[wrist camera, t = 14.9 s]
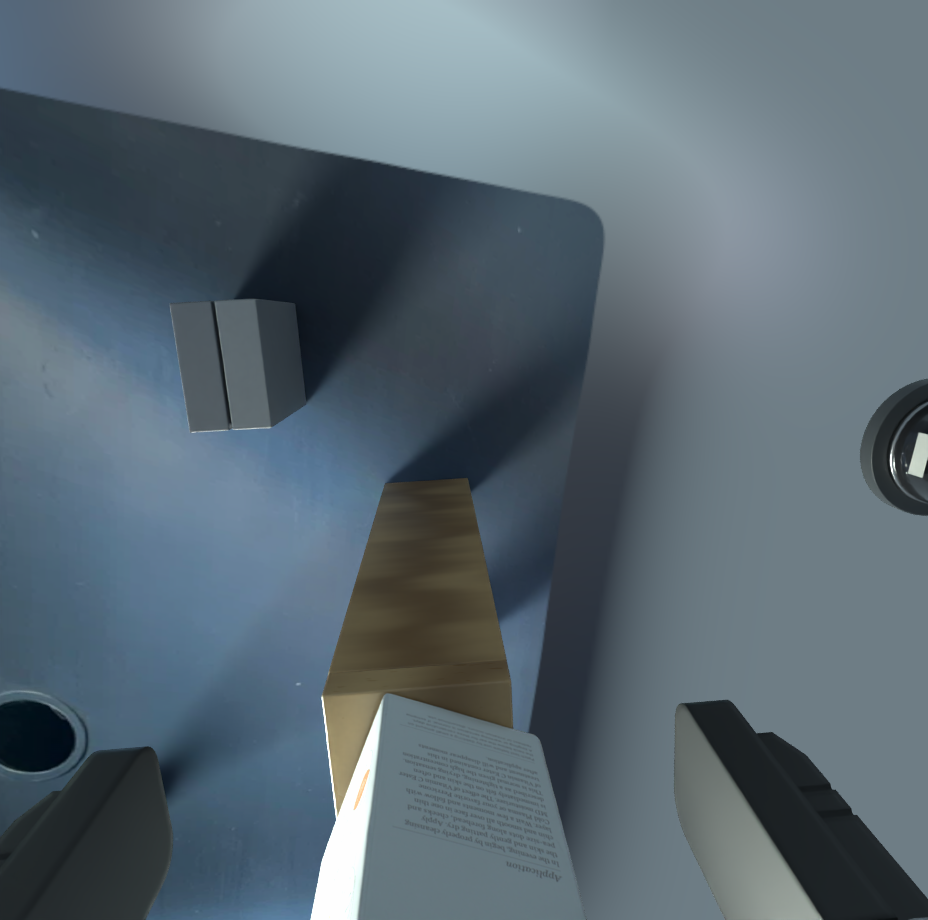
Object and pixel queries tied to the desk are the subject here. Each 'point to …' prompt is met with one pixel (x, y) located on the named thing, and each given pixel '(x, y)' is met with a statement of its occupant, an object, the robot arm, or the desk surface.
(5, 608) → the desk surface
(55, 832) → the robot arm
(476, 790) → the small box
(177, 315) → the grey books
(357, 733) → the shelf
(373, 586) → the shelf stand
